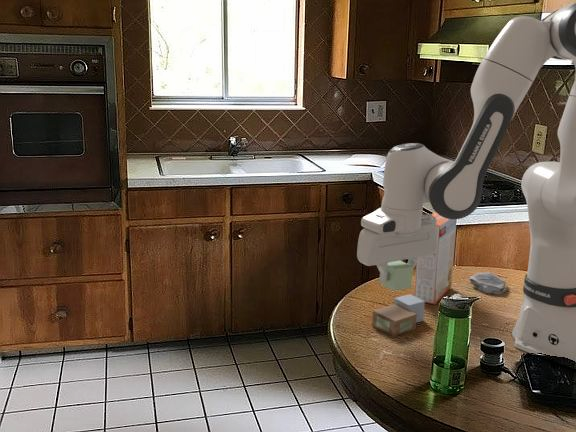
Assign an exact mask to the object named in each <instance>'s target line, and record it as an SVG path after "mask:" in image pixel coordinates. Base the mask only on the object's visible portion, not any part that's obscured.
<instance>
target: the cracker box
mask: <svg viewBox="0 0 576 432" xmlns="http://www.w3.org/2000/svg"><path fill="white" fill-rule="evenodd" d="M431 214H432V216H434V217H435V218H436V220H437V223H436V229H437V250H436V251H435V253H434V254H432V255H427V256H421V257H418V262H417V264H416V265H415V267H416V268H415V277H414V278H415V281H414V295H413V296H415V297H417V298H419V299H421V300H423V301H425V303H426V304H429V305H436V304H437V302H439V301H440V299H442V298H443V296H445V294H447V292H448V291H449V290H450V289H451V288H452V282H453V269H454V256H455V255H454V254H455V247H456V246H455V244H456V235H457V234H456V232H457V220H458V219H447V218H444V217H442V216H440V215H439V214H438V213H436V212H435V211H434V212H433V213H431ZM432 218H433V217H432Z"/></svg>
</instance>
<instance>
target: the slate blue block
mask: <svg viewBox="0 0 576 432" xmlns="http://www.w3.org/2000/svg"><path fill="white" fill-rule="evenodd" d="M393 304H396V305H398V306H400V307H403V308H405V309H407V310H409V311H411V312H414V313H416V314H417V318H416V323H419V322H423V321H424V314H425V305H426V304H425V301H423V300H421V299H419V298H417V297H415V296H414V295H413V294H411V293H410V294H405V295H401V296H396V297H394V300H393Z"/></svg>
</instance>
